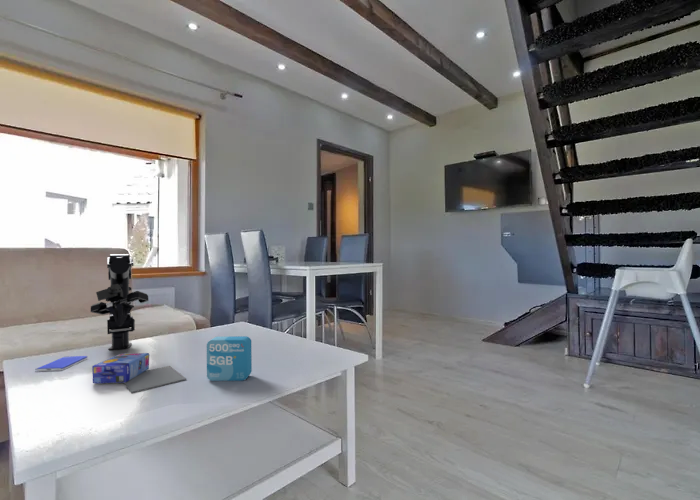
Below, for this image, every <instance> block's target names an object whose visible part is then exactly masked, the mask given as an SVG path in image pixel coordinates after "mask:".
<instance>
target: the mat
mask: <svg viewBox="0 0 700 500" xmlns="http://www.w3.org/2000/svg"><path fill="white" fill-rule="evenodd" d="M183 381H187V378H186V377H185V376H184V375H182V374H181V373H180V372H178V371H177V370H176V369H175V368H173V367H172V366H171V365H167V366H163V367H157V368H153V369H148V370H146V371H144V372H143V373H141V374H139V375H137V376H136V377H134V378H132V379H131V380H129V381H127V382H126V383H123V384H124V386H126V388H127V390H129V392H130V393H131V394H135V393H138V392H143V391H146V390H151V389H155V388H160V387H164V386H167V385H172V384H175V383H179V382H183Z"/></svg>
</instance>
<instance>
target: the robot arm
mask: <svg viewBox="0 0 700 500" xmlns="http://www.w3.org/2000/svg"><path fill="white" fill-rule="evenodd" d="M106 261H107V265H106V266H107V268H106V269H108V270H107V271H108V273H107V274H108V281H110V286H109V287H107V288H105V289H101V290H99V291H96V292H95V294H96V298H97V301H98V303H94V304H92V305H90V313H93V314H97V315H102V316H103V315H104V316H105V315H107V314H109V318H107V319H106V325H107V327H106V328H107V332H106V333H107V335H111V346H110V347H108V350H109V351H110V350H111V351H113V350H123V349H126V350H127V349H129V348H130V347H131V346H132V345H133V344H132V343H131V342H130V333H131V332H134V331H135V330H136V329H135V322H136V320H135V319H134V317H133V315H131V311H132V310H133V308H135V305H134V304H133V303H134V302H135V301H138V303H141V304H143V303H146V302H149V295H148V294H147V293H146V292H143V291H140V290H136V291H132V287H131V286H130V280H131V279H132V267H134V259H133V258H132V256H130V254H128V253H126V254H125V253H123V254H122V253H120V254H117V253H113V254H109V257H107V260H106ZM130 291H132V292H130ZM103 300H105V302H102V301H103Z"/></svg>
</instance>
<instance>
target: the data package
mask: <svg viewBox="0 0 700 500" xmlns="http://www.w3.org/2000/svg"><path fill="white" fill-rule="evenodd" d="M252 357H253V356H252V339H251V337H249V336H246V335H245V336H242V335H241V336H230V335H229V336H215V337H213V338H211V339H210V340H208V341H207V343H206V379H207V380H209V381H211V382H219V381H220V382H221V381H222V382H230V381H232V382H234V381H235V382H239V381H240V382H241V381H245V380H246V379H248V377H249V376H250V375H251V374H252V371H253V368H252V363H253V362H252V360H253V359H252Z"/></svg>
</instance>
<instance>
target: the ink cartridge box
mask: <svg viewBox="0 0 700 500" xmlns="http://www.w3.org/2000/svg"><path fill="white" fill-rule="evenodd" d="M91 367H92V384H122V383H123V384H124V383H126V382H127V381H129V380H131V379H132V378H134V377H136V376H137V375H139V374H141V373H143V372H144V371H148V370H150V352H149V353H148V352H141V353H140V352H139V353H138V352H137V353H135V352H134V353H133V352H131V353H127V352H126V353H119V354H117V355H115V356H112V357H110V358H106V360H103V361H100V362H99V363H96V364H94V365H92V366H91Z"/></svg>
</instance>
